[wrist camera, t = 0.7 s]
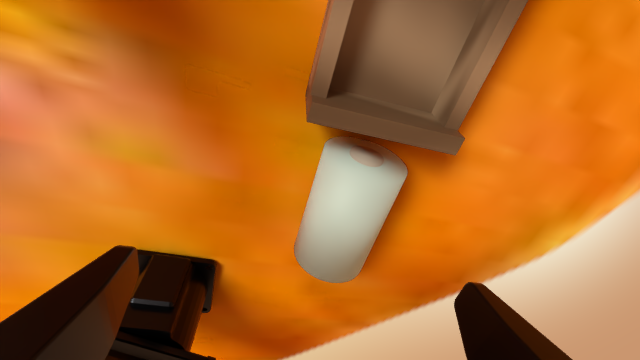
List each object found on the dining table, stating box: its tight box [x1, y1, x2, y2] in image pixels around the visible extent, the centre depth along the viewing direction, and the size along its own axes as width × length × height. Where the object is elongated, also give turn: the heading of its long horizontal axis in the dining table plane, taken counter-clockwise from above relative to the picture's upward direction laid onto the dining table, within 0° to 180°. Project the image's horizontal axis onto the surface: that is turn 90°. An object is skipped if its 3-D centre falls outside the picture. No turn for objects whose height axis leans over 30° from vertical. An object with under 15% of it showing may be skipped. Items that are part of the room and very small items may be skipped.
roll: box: [294, 136, 408, 283], centre depth 20 cm, size 8×5×5 cm, turn 165°
